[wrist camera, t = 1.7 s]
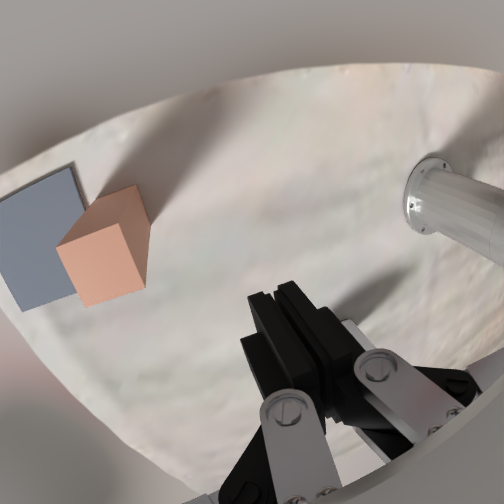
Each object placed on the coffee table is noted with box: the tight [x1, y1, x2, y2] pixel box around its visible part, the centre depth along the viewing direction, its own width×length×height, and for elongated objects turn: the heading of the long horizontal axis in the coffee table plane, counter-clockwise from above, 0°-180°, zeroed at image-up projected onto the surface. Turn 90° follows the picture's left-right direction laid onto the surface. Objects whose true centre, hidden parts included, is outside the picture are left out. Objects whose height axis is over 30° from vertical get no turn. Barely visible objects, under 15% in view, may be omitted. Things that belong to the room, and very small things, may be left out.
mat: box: [0, 167, 86, 312], centre depth 29 cm, size 15×14×1 cm
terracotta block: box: [56, 184, 151, 307], centre depth 25 cm, size 5×5×14 cm
